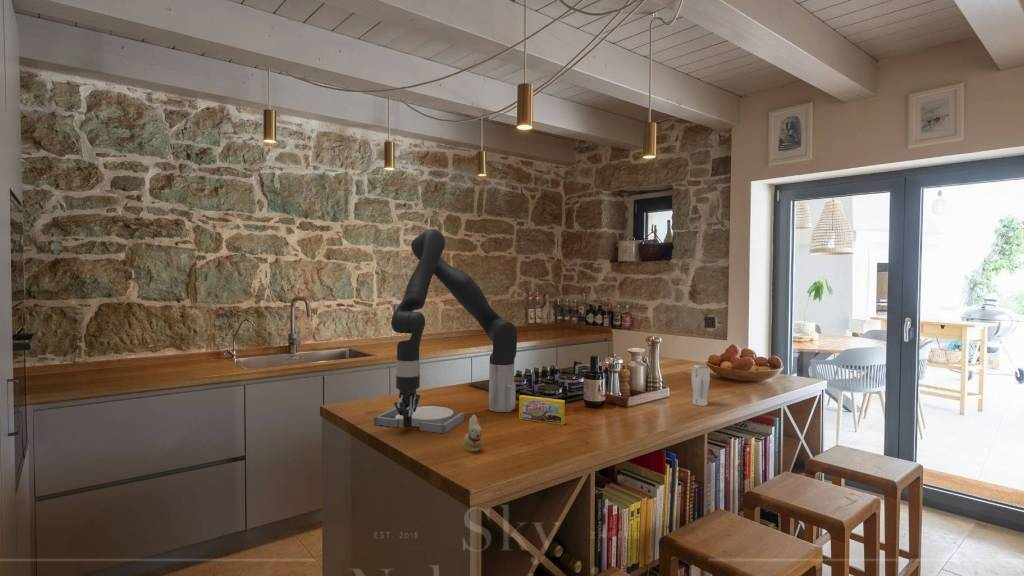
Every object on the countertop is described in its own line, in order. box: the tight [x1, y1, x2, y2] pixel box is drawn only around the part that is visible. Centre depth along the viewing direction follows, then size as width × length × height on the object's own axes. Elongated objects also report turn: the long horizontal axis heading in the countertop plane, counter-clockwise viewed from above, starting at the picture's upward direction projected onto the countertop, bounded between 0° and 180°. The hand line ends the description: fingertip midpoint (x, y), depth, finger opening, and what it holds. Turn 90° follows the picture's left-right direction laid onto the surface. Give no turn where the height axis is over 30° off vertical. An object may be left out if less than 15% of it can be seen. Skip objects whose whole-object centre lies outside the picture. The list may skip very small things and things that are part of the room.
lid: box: [394, 405, 454, 428], centre depth 183 cm, size 17×20×3 cm
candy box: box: [518, 394, 566, 425], centre depth 184 cm, size 16×2×8 cm, turn 68°
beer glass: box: [690, 364, 711, 407], centre depth 212 cm, size 7×7×15 cm
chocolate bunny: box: [462, 414, 482, 453], centre depth 155 cm, size 6×8×10 cm
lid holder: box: [373, 406, 465, 434], centre depth 180 cm, size 25×16×2 cm, turn 72°
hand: (407, 427), depth 171 cm, fingers closed
